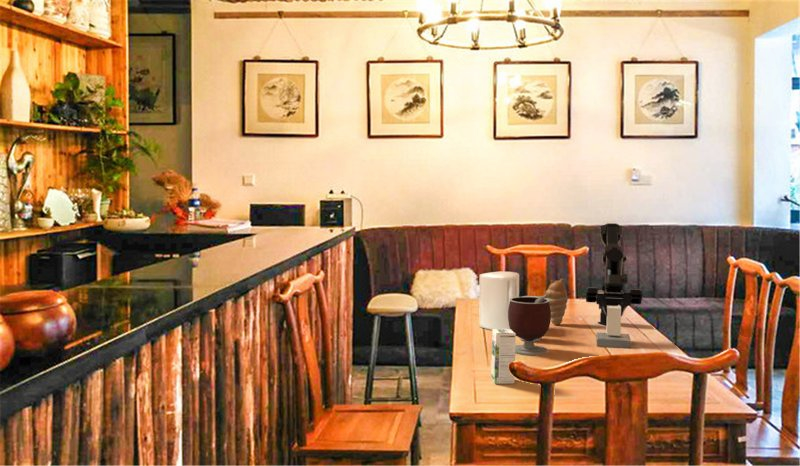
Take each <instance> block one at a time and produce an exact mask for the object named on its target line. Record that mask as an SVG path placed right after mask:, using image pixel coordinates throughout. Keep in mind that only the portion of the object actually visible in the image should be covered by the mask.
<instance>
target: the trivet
mask: <svg viewBox="0 0 800 466" xmlns="http://www.w3.org/2000/svg"><path fill="white" fill-rule="evenodd" d="M595 339H596V347H602V348H603V347H604V348H619V349H621V348H622V349H632V347H631V346H632V344H631V343H632V340H631V336H630V333H621V335H620V336H616V335H607V333H606V332H599V331H598V332H596V338H595Z"/></svg>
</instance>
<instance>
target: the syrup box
mask: <svg viewBox="0 0 800 466" xmlns="http://www.w3.org/2000/svg"><path fill="white" fill-rule="evenodd" d="M491 331H492V333H491V336H492V337H491V363H490V365H491V366H490V369H491V373H490V375H491V376H490V379H491V380H492V382H493V383H494V385H508V384H515V381H516V379H515V378H516V377H515V378H514V377H513V376H512V375H511V374H510V372H509V369H508V365H509V363H510V362H513V361H515V362H516V354H515V346H516V345H517V343H516V340H517V338H516V337H517V336H516V333H514V332H513V331H512V330H511V329H493V330H491Z"/></svg>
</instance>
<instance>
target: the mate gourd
mask: <svg viewBox="0 0 800 466" xmlns="http://www.w3.org/2000/svg"><path fill="white" fill-rule="evenodd" d="M547 297H548V295H545V294H544V295H541V296H537V297H522V296H519V297H514V298H511V299H510V303H509V308H508V321H509V327H510V329H511V330H512V331H513V332H514V333H516V337H518V339H520V338H522V339H524V340H525V341H523V342H524V343H523V344H518V345H517V344H515V355H521V356H531V357H532V356H541V355H542V354H543V355H546V354H547V353H548V352H549V351H548V348H546V347H544V346H541V345H535V344H534V342H533V340H535V339H538V338H540V337H542V338H543V337H544V336H546V334H547V332H548V331H549V329H550V326H551V310H550V304H549V300H548V299H547Z"/></svg>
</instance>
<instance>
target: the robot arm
mask: <svg viewBox="0 0 800 466" xmlns="http://www.w3.org/2000/svg"><path fill="white" fill-rule="evenodd" d="M622 236H623V226H622V225H620V224H619V223H616V222H615V223H614V222H613V223H611V222H610V223H609V222H608V223H605V224H602V225H600V227H599V237H601V243H602V244H603V246H604V249H603V252H602V254H601V263H603V265H604V266H605V267H604V275H605V276H604V284H603V285H602V287H601V289H600V290H599V288H598V287H593V286H592V287H589V286H588V287H587V288H586V289H585V301H586V303H595V304H596V305H598V310H600V316H599V320H600V321H597V324H600V325H604V326H607V305H611V306H621V318H622V317H623V315H624V312H625V311H626V309H627V308H628V306H631V305H641V304H642V301H643V300H642V299H643V290H642V289H641V288H630V289H629V292H623V290H624V285H627V284H628V273H622V272H623V270H622V269H623V264H625V263H626V262H627V256H626V255H625V253H624V252H623V248H622V247H621V246H620V245H619V243H620V241H621V237H622ZM625 261H626V262H625Z"/></svg>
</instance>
